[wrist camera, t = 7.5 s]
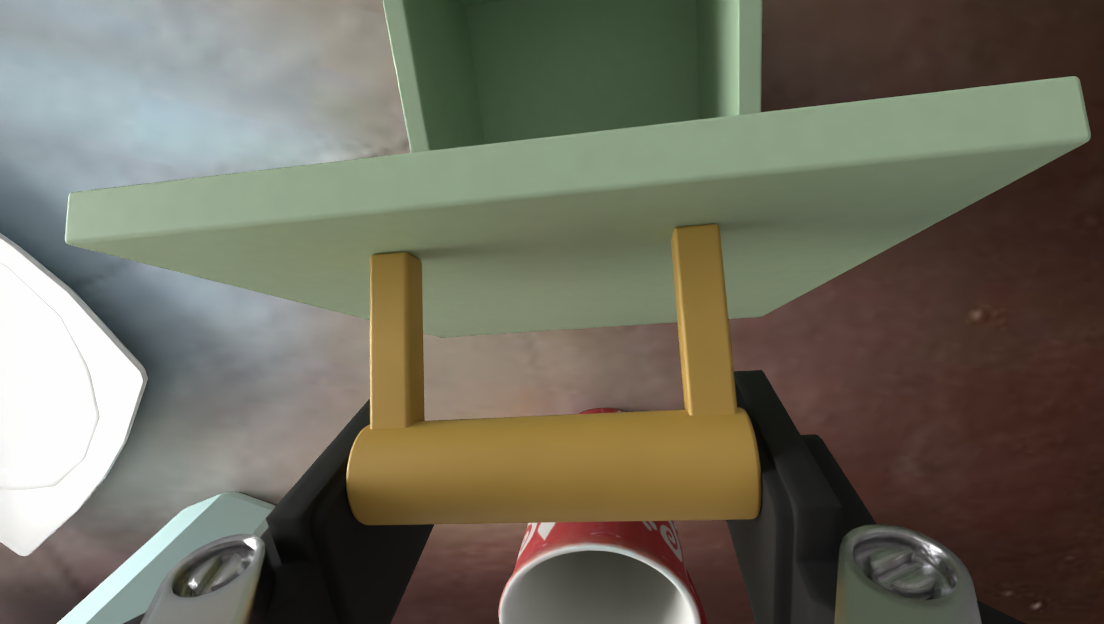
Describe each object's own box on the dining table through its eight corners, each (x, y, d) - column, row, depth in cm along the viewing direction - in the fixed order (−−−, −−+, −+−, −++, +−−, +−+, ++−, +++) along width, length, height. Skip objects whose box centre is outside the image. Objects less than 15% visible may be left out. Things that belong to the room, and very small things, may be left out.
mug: (510, 442, 37) (456, 609, 24) (613, 367, 34) (613, 511, 22) (626, 561, 39) (632, 770, 27) (731, 500, 37) (793, 700, 24)
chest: (452, -5, 28) (368, -71, 19) (709, -46, 26) (764, -142, 17) (493, 265, 33) (442, 324, 23) (714, 246, 31) (759, 302, 21)
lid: (65, 190, 8) (34, 570, 7) (1082, 72, 6) (1183, 565, 5) (439, 319, 23) (441, 444, 22) (760, 296, 21) (775, 432, 20)
